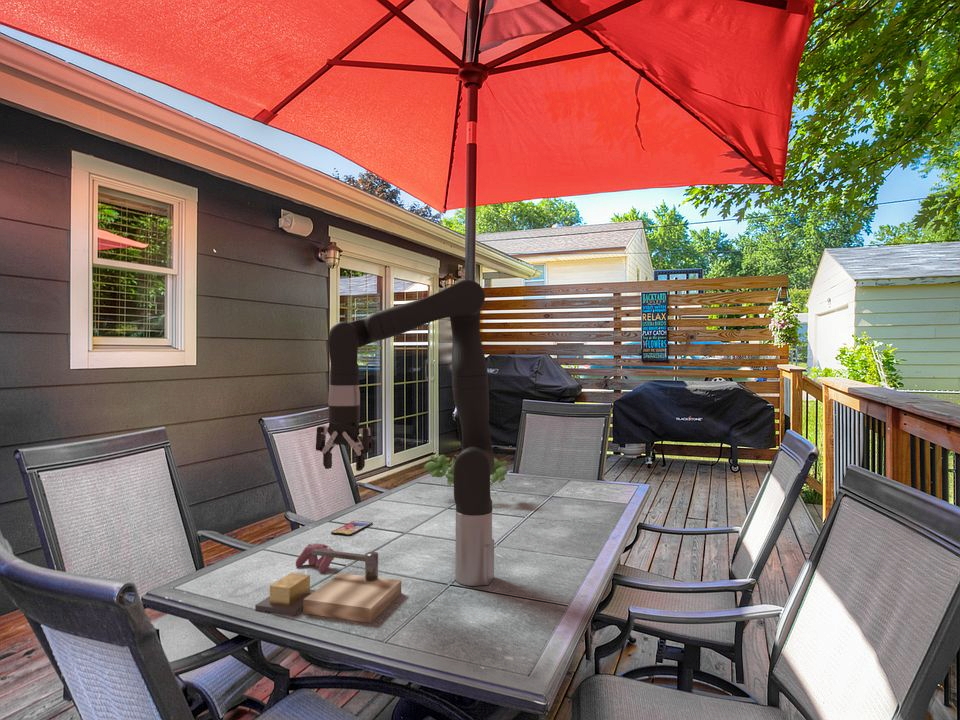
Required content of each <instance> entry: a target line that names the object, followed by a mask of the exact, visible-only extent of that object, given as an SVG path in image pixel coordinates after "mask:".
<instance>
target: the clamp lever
mask: <svg viewBox="0 0 960 720" xmlns="http://www.w3.org/2000/svg"><path fill="white" fill-rule="evenodd" d="M312 555H317V557H318V556H320V557H322V556H326V557H334V559H335V558H336V559H343V560H350V561H351V560H352V561H358V562H364V569H365V570H364V571H365V572H364V576H365V579H366V580H370V581H371V580H376V579H378V578H379V553H378V552H376V551H369V552H368V551H367V552H366V553H365V554H360V553H352V552H344V551H337V550H336V551H335V550H334V551H330V550H322V549H314V550H312Z"/></svg>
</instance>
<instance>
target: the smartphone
mask: <svg viewBox="0 0 960 720" xmlns="http://www.w3.org/2000/svg"><path fill="white" fill-rule="evenodd" d="M373 524H374V523H373V522H372V521H363V520H353V521H351V522H349V523H346V524H345V525H342V526H340V527H338V528H336V529H334V530H332V531H331V533H330V534H331V535H332V536H333V535H334V536H341V537H351V536H352V537H353V536H354V535H356V534H358V533H359V532H361V531H363V530H365V529H367V528H369V527H370V525H371V526H372V525H373ZM368 526H369V527H368Z"/></svg>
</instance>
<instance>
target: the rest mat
mask: <svg viewBox="0 0 960 720" xmlns="http://www.w3.org/2000/svg"><path fill="white" fill-rule="evenodd" d="M316 590H317V589H311V588H310V593H308V594H307V595H305V596H304V597H303V598H301V599H300V600H298V601H297V602H295V603H294V604H292V605H291V606H289V607H288V606H282V605H275V604H270V595H269V596H268V597H266V598H264V599H263V600H261V601H260V602H258V603H257V604H255V607H254V609H255V611H256V610H257V611H262V612H268V613H275V614H280V615H282V614H283V615H289V616H297V615H298V614H299V613H301V612H303V599H305V598H306V597H307V596H309V595H310V594H312V593H313V592H315V591H316Z"/></svg>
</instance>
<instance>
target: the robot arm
mask: <svg viewBox="0 0 960 720" xmlns="http://www.w3.org/2000/svg"><path fill="white" fill-rule="evenodd" d="M485 294H486V293H485V290H484V289H483V286H481V285H480V284H479V283H478V282H476V281H475V280H473V279H472V280H471V279H462V280H460V281H456V282H455V283H454V284H452V285H451V286H448V287H446V288H444V289H442V290H440V291H438V292H436V293H433V294H431V295H429V296H426V297H423V298H420V299H417V300H413V301H409V302H406V303H403V304H399V305H395V306H392V307H388V308H384V309H381V310H378V311H375V312H372V313H370V314H368V315H367V316H365V317H362V318H359V319H356V320H351V321H340V322H339V321H338V322H337V323H335V324H334V325H332V327H331V328H330V329H329V332H328V352H329V354H328V355H329V361H330V366H329V367H330V369H329V389H328V399H327V400H328V408H327V409H328V411H327V413H328V414H327V416H328V418H327V420H328V421H327V422H328V426H326V425H321V426H317V427H316V435H315V437H316V438H315V450H316V451H317V452H318V451H319V452H322V456H323V457H322V458H323V459H322V465H323V467H324V469H327V470H329V469H332V467H333V452H332V451H333V449H334V448H335V447H336V446H342V445H343V446H350V448H351V449H352V450H354V452H355V454H356V455H355V470H356V471H355V472H361V471H362V470H364V468H365V467H366V465H365V463H366V460H365V459H366V454H369V453H371V452H372V451H373V434H372V433H373V432H372V428H371V427H366V428H361V427H360V421H361V420H360V419H361V418H360V417H361V415H360V414H361V412H360V411H361V391H360V368H359V367H360V366H359V363H358V349H359V348H361V347H364V346H366V345H369V344H372V343H373V342H378V341H382V340H386V339H389V338H392V337H396V336H399V335H402V334H405V333H407V332H410V331H413V330H414V329H417V328H419V327H422V326H424V325H427V324H429V323H432V322H435V321H438V320H442V319H447V318H449V321H450V328H451V335H452V336H451V338H452V339H451V340H452V341H451V343H452V345H451V346H452V347H451V385H452V396H453V401H454V405H455V408H456V412H457V416H458V419H459V423H460V427H461V452H460V453H459V454H457V455H458V456H456V458H455V459H454V460H455V461H454V462H455V463H454V462H453V463H454V484H453V498H454V503H455V550H454V551H455V552H454V553H455V556H454V557H455V561H454V562H455V566H454V567H455V569H454V573H455V574H454V575H455V577H454V578H455V581H456V582H457V583H458V584H460V585H464V586H471V587H474V586H477V587H478V586H489V585H490V583H491V582H492V580H493V578H494V577H495V539H494V538H493V500H492V497H491V483H490V482H491V480H490V479H491V476H492V475H491V474H492V472H493V470H494V458H495V456H494V451H493V446H492V437H491V433H490V392H489V391H490V390H489V389H490V388H489V385H490V384H489V375H488V374H489V373H488V365H487V359H486V356H485V352H484V348H483V345H482V344H483V343H482V338H481V310H482V308H483V306H484V304H485V300H486V295H485ZM327 434H328V435H329V438H328V440H326V437H327ZM359 435H361V438H362V440H360V438H359ZM326 441H327V442H326Z"/></svg>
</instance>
